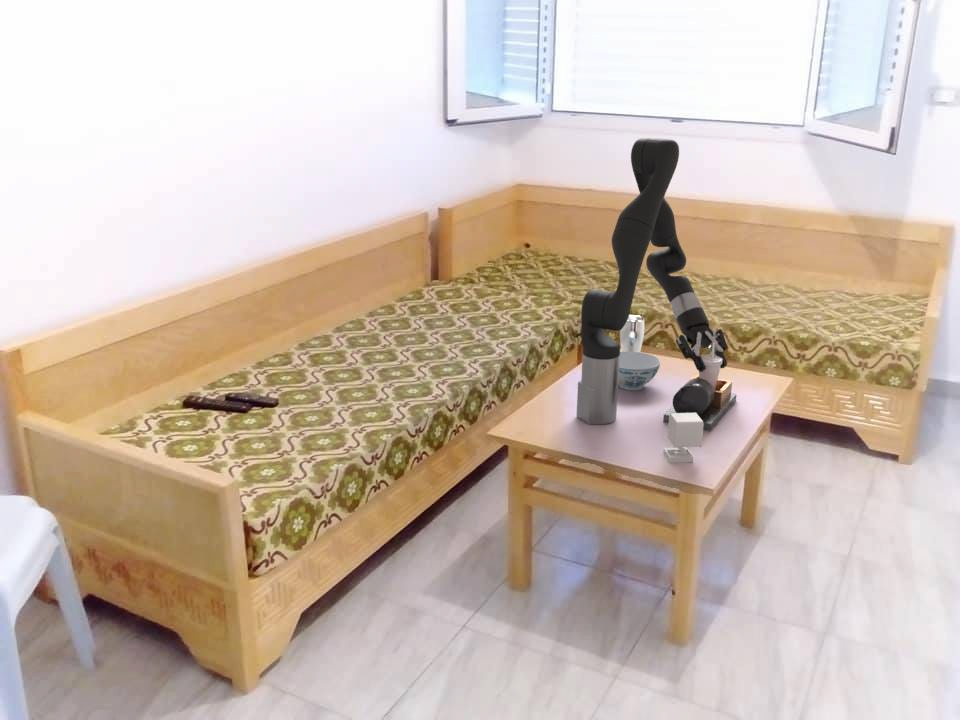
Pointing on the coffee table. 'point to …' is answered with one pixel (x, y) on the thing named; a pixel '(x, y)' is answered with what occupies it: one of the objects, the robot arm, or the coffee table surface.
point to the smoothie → (711, 367)
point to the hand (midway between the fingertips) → (713, 368)
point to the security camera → (683, 436)
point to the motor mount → (703, 400)
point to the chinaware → (636, 369)
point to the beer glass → (632, 334)
